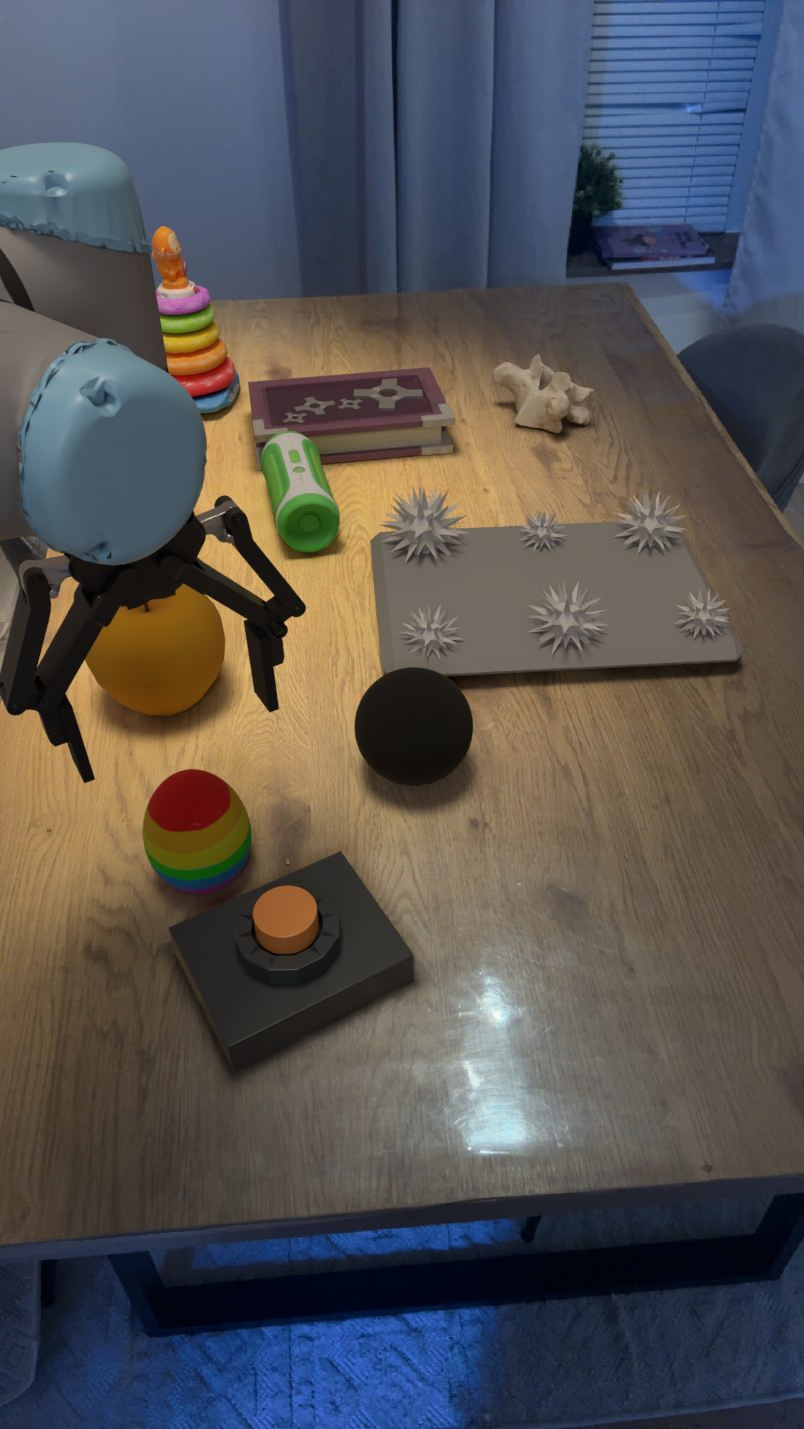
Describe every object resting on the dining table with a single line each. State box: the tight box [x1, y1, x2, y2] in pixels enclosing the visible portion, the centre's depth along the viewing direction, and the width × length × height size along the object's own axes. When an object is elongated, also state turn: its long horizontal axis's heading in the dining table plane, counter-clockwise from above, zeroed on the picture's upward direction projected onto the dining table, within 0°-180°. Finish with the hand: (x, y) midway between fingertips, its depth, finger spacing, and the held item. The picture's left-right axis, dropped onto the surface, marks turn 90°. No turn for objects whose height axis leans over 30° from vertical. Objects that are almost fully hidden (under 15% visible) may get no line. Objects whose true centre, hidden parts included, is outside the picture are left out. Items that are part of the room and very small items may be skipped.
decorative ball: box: [354, 667, 474, 787], centre depth 85 cm, size 10×10×10 cm
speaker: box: [260, 431, 341, 553], centre depth 118 cm, size 18×7×8 cm, turn 13°
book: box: [247, 366, 456, 471], centre depth 134 cm, size 25×16×5 cm, turn 100°
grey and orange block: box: [167, 850, 415, 1073], centre depth 72 cm, size 14×11×5 cm
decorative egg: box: [142, 768, 253, 895], centre depth 77 cm, size 8×8×10 cm
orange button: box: [253, 886, 319, 955], centre depth 70 cm, size 4×4×2 cm
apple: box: [84, 584, 226, 717], centre depth 93 cm, size 13×13×11 cm
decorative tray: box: [369, 482, 745, 678], centre depth 103 cm, size 35×26×10 cm
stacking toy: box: [151, 225, 241, 414], centre depth 137 cm, size 14×13×23 cm
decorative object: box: [491, 353, 595, 434], centre depth 136 cm, size 9×14×8 cm, turn 47°
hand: (178, 734), depth 71 cm, fingers open, 13 cm apart
